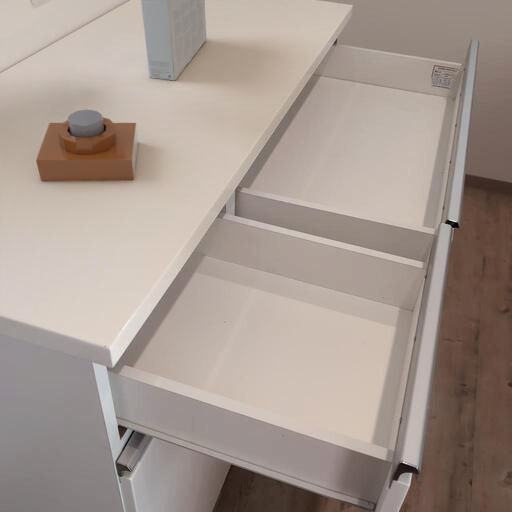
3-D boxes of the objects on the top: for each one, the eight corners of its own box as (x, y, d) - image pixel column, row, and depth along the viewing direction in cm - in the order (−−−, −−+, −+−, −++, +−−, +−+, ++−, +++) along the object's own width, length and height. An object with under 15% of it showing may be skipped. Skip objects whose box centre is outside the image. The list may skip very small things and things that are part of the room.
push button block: (40, 181, 71) (32, 147, 68) (53, 142, 79) (46, 110, 76) (134, 180, 73) (130, 147, 70) (137, 142, 80) (134, 111, 77)
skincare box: (181, 37, 113) (178, -49, 102) (206, 40, 112) (206, -46, 102) (145, 77, 97) (137, -19, 87) (174, 81, 97) (170, -15, 86)
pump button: (68, 139, 71) (65, 125, 70) (72, 123, 74) (70, 109, 73) (102, 139, 72) (100, 125, 70) (105, 123, 75) (104, 109, 73)
